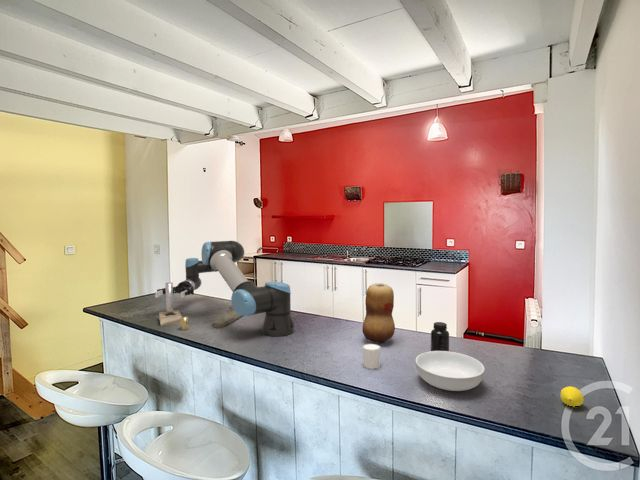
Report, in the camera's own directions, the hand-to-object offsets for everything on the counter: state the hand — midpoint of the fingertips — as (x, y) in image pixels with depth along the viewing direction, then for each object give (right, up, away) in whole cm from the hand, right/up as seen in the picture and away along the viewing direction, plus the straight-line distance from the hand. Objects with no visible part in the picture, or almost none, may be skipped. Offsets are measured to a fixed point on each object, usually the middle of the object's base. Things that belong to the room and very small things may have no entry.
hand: (168, 295), depth 190 cm
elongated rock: (+32, -14, +4) cm, 35 cm away
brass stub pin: (+14, -14, -15) cm, 25 cm away
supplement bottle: (+126, -16, -48) cm, 135 cm away
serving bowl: (+120, -18, -73) cm, 142 cm away
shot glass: (+97, -17, -59) cm, 115 cm away
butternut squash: (+104, -15, -34) cm, 111 cm away
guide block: (+1, -13, 0) cm, 14 cm away
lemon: (+150, -18, -87) cm, 174 cm away
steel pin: (+1, -13, 0) cm, 14 cm away
